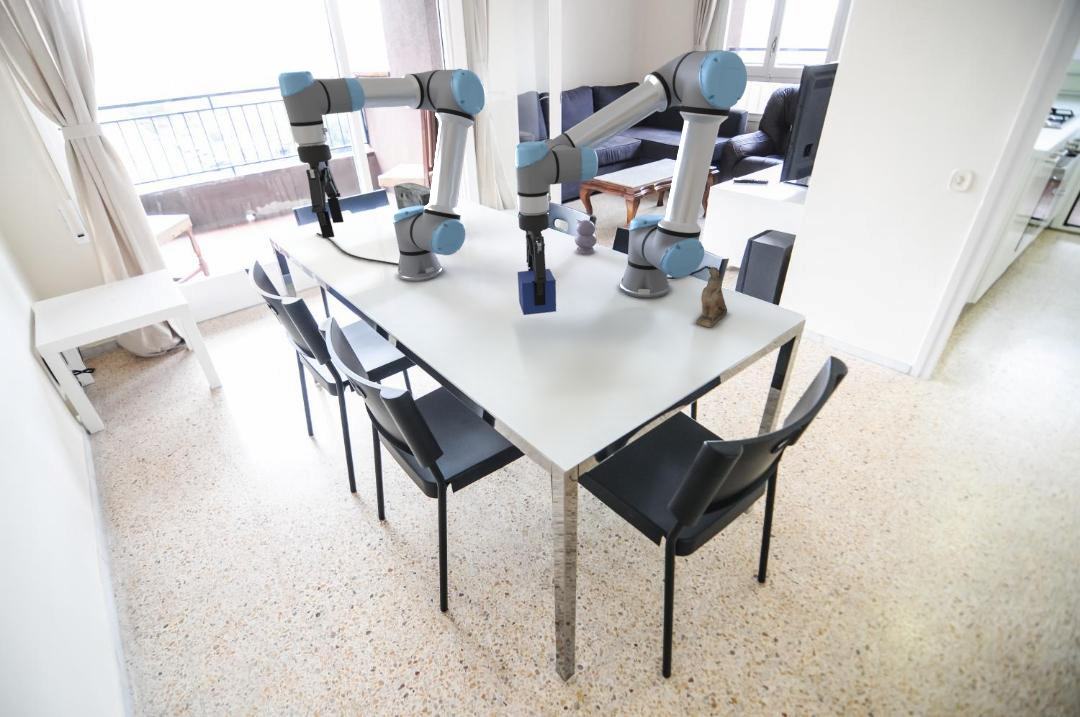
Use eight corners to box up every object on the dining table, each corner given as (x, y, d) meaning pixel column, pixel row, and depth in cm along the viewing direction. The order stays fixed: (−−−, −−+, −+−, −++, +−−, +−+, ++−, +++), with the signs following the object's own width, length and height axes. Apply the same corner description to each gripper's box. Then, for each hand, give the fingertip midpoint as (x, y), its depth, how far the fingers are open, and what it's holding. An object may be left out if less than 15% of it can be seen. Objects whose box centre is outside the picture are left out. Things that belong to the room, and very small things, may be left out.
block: (523, 315, 129) (521, 283, 124) (519, 302, 136) (517, 271, 131) (556, 311, 130) (555, 279, 126) (550, 299, 137) (549, 268, 132)
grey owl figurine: (600, 251, 189) (601, 219, 183) (587, 257, 184) (588, 225, 178) (583, 246, 194) (583, 216, 188) (570, 252, 190) (570, 220, 183)
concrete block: (446, 240, 206) (439, 191, 196) (426, 245, 202) (419, 195, 192) (419, 226, 225) (412, 180, 215) (401, 230, 221) (392, 184, 210)
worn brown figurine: (709, 335, 136) (713, 280, 124) (691, 329, 139) (693, 274, 128) (730, 313, 142) (736, 258, 130) (712, 307, 145) (716, 253, 133)
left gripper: (316, 150, 111) (339, 242, 123) (337, 136, 132) (355, 215, 144) (281, 153, 111) (308, 245, 122) (307, 137, 132) (328, 217, 143)
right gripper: (557, 222, 112) (559, 313, 123) (541, 200, 129) (543, 281, 141) (524, 225, 111) (529, 316, 122) (512, 202, 128) (517, 284, 140)
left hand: (333, 229), depth 133 cm, fingers open, 13 cm apart
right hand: (537, 297), depth 132 cm, fingers closed on block, 8 cm apart
